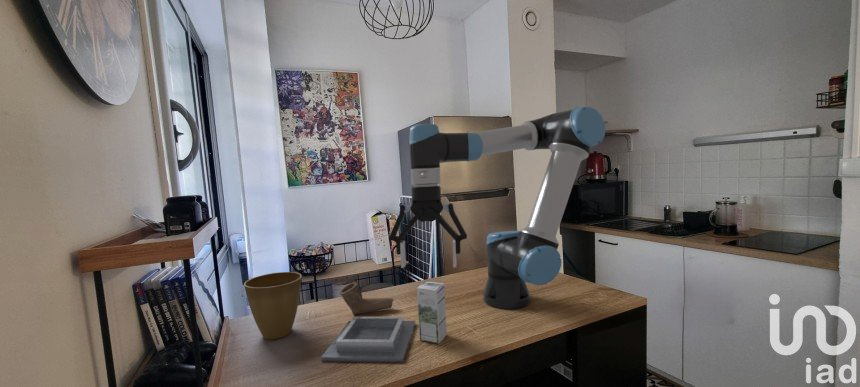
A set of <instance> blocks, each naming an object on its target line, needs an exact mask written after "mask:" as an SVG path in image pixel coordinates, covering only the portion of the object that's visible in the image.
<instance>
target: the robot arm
mask: <svg viewBox="0 0 860 387" xmlns="http://www.w3.org/2000/svg"><path fill="white" fill-rule="evenodd" d="M605 135H606V125H605V121H604V119H603V116H602V115H601V113H600V112H599V111H598V110H597V109H595V108H593V107H592V106H582V107H580V106H576V107H574V108H572V109H567V110H564V111H560V112H555V113H551V114H548V115H545V116H542V117H539V118H536V119H533V120H527V121H524V122H522V124H521V125H514V126H509V127H501V128H495V129H488V130H481V131H477V132H468V131H467V132H447V133H446V132H440V128H439V126H438V125H437V124H433V123H432V124H430V123H422V124H421V123H419V124H414V125H412V126H411V127H410V128H409V143H408V145H409V158H410V159H409V160H410V183H411V185H413V186H412V187H411V205H408V204H407V205H406V204H405V203H402V204H401V205H400V207H399V214H398V215H397V219H396V220H395V222H394V225H393V228H392V230H391V231H390V234H389V237H388V240H389V241H393V242H394V243H395V248H396V254H397V255H400V267H401V269H403V268H405V267H406V265H407V263H406V262H407V261H406V241H405V240H403V239H404V238H405V236H406V235H407V234H408V232H409V231H410V230H411V228H412V227H413V226H414V225H415V224H416V222H417V221H420V222H421V223H422V222H423V223H424V222H434V221H436V222H438V224H440V225H441V226H442V228H443V229H444V230H445V231H446V232H447V233H448V235H450V236H451V237H452V238H453V240H452V265H453V268H457V255H458V254H461V242H462V241H463V240H466V239H467V238H468V234H467V232H466V230H465V229H464V227H463V224H462V223H461V221H460V219H459V218H458V215H457V214H456V211H455V207H454V204H453V202H449V203H446V204H443V203H442V192H441V191H442V190H441V186H440V185H439V184H441V164H443V163H455V162H472V161H478V160H480V159H481V157H482V156H488V155H492V154H493V155H494V154H499V153H505V152H510V151H516V150H522V149H525V150H526V151H534V150H550V152H551V155H550V159H549V161H548V163H547V166H546V169H545V172H544V176H543V178H542V180H541V184H540V187H539V191H538V193H537V196H536V199H535V202H534V205H533V208H532V211H531V213H530V216H529V219H528V223H527V225H526V226H525V227H524V228H522V229H520V230H504V231H496V232H491V233H488V235H487V236H486V255H487V256H486V260H487V279H486V283H485V287H484V290H483V301H484V303H485V304H486V305H488V306H490V307H493V308H495V309H496V308H498V309H504V310H506V309H508V310H509V309H510V310H513V309H520V308H521V309H522V308H524V307H526V306H528V305H529V304H530V302H531V294H530V292H529V288H528V285H527V283H528V284H532V285H535V286H543V285H548V283H551V282H552V281H553V280H555V278H556V277H557V276H558V274H559V273H560V271H561V267H562V258H561V257H562V256H561V253H560V252H559V251H558V248H559V245H560V242H559V241H558V239H557V234H558V231H559V228H560V225H561V222H562V219H563V216H564V213H565V210H566V208H567V204H568V201H569V198H570V195H571V193H572V189H573V186H574V183H575V180H576V177H577V175H578V171H579V168H580V164H581V162H582V161H584V160H586V159H587V158H589V155H590V152H591V149H592V148H593V147H596V146H598V145H599V144H601V143H602V142H603V140H604V137H605ZM409 210H410V211H411V213H412V214H413V217H412V218H411V220H410V221H409V222H408V223H407V225H406V226H405V227H404V229H403V230H402V231H401V232H400V233H399V232H398V231H399V229H400V227H401V224H402V223H403V221H404V218H405V216H406V214H408V213H409ZM443 210H445V212H446V213H448V214H449V216H450V218H451V220H452V222H453V223H454V225H455V226H456V229H457V230H458V232H456V230H455V229H454V228H453V227H452V226H451V225H450V223H448V221H447V220H446V219H444V217H443V215H441V212H443ZM397 233H399V234H397ZM458 233H459V234H458Z"/></svg>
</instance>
